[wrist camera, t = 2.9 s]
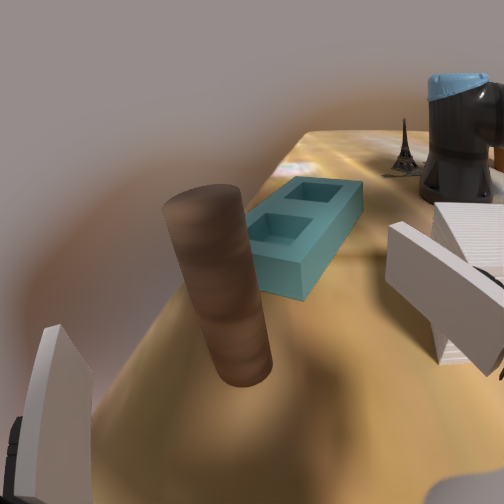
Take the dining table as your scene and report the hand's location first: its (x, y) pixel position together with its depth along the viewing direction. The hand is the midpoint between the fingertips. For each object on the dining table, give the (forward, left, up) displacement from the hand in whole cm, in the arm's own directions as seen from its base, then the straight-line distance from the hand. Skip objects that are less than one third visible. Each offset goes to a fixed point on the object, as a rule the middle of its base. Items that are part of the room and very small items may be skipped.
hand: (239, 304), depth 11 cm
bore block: (-29, -12, -15) cm, 35 cm away
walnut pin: (-7, -7, -15) cm, 18 cm away
